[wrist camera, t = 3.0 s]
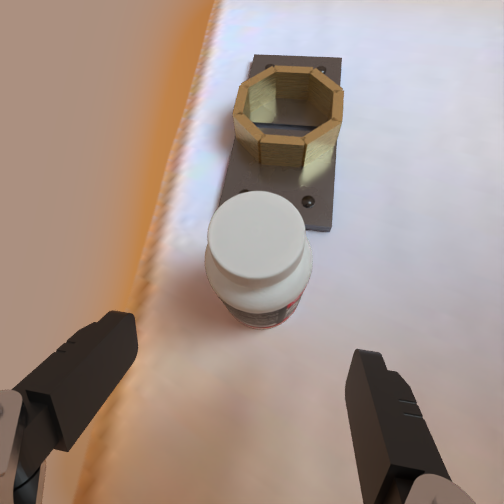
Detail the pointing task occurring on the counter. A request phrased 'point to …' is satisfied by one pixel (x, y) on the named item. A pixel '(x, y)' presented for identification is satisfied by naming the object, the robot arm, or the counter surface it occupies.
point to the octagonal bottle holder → (288, 134)
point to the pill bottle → (258, 258)
